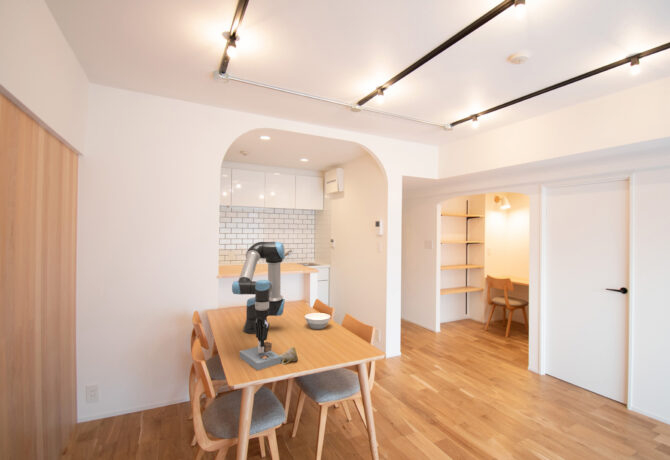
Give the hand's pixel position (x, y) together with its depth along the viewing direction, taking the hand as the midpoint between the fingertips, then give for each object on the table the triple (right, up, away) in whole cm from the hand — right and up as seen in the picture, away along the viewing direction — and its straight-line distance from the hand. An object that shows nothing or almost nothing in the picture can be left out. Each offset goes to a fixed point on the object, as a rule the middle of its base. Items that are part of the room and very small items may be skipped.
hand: (261, 352), depth 168 cm
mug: (+15, -5, 0) cm, 16 cm away
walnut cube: (+2, -1, +6) cm, 6 cm away
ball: (+3, -3, -3) cm, 5 cm away
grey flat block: (-1, -5, +1) cm, 5 cm away
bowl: (+27, -6, +62) cm, 68 cm away
